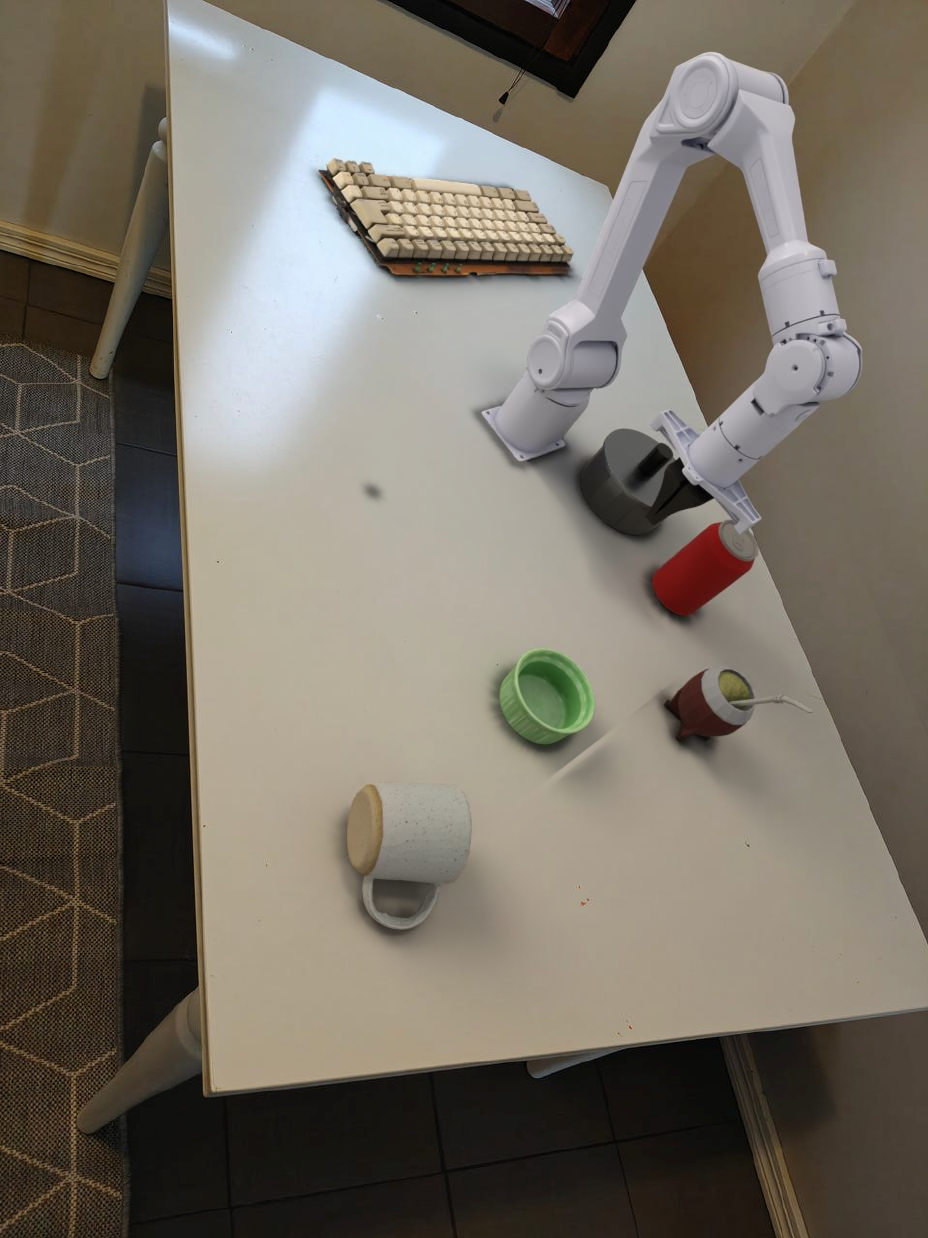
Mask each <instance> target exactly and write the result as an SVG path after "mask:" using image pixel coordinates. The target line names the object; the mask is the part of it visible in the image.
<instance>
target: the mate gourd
mask: <svg viewBox="0 0 928 1238" xmlns="http://www.w3.org/2000/svg"><path fill="white" fill-rule="evenodd" d="M771 703H773V704H784V703H786V704H789V705H792V706H794V707H796V708H797V709H800V710H802V711H803V712H806V713H808V714H813V712H814V710H812V709H811V708H809V707H807V706H806V705H804V704H802V703H800V702H799V701H798V700H795V699H793V698H790V697H788V696H785V695H782V694H774V695H773V696H767V697H761V698H756V694H755V691H754V688H753V686H752V685H751V683H750V682H749V681H748V679H747V677H745V675H743V673H741V672H740V671H738V670H736V669H734V668H732V667H729V666H712V667H709V668H705V669H704V670H702V671H700V672H698V673H697V674H695V675H693V676H692V677H691V678H690V679H689V680H688V681H686V683H685V684H684V685H683V686H682V687H681V688H680V689H678V690H677V691H676V693H675V694H674V695H673V697H672V698H671V700H670V699H667V700H666V701H665V702H664V704H663V706H664V708H666V709H667V710H668V711H669V712H670V713H672V714H673V715H674V716H675V717H676V718H677V719H678V720H680V725H679V728H678V730H677V732H676V735H675V739H676V741H678V742H679V743H682V742H684V740H685V739H686V737H688V736H692V735H694V734H695V735H697V736H699V737H700V738H701V739H702V740H703V741H704V742H707V741H709V740H711V738H713V737H725V736H729V735H731V734H733V733H735V732H737V731H738V730H739V729H741V728H742V727H744V726H745V725H746V724H747V722H749V721H750V720H751V719H752V716H753V714H754V710H755V708H756V705H762V704H771Z"/></svg>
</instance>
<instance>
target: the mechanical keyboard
mask: <svg viewBox="0 0 928 1238" xmlns="http://www.w3.org/2000/svg"><path fill="white" fill-rule="evenodd" d="M325 166H326V169H318V170H317V172H318V173H319V175H320V176H321V178H322V179H323V180H324V182H325V183H326V185H327V187H328V188H329V190H330V191H331V193H332V197H331V199H332V201H333V202H334V204H335V205H336V206H337V207H336V210H337V211H340V213H341V215H342V218H343V221H344V222H347V223H348V225H349V227H350V229H351V230H352V232H357V233H358V234H359V235H360V237H361V238H362V240H363V242H364V243H365V246H367V248H368V250H370V252H371V254H372V255H373V257H374V258H375V261H376V262H377V263H378V264H379V266H384V267H387V268H388V269H389V270H390V272H391V273H392V274H393V275H403V276H404V275H405V276H407V275H408V276H470V273H476V275H477V276H478V277H479V276H482V275H497V274H518V275H531V276H536V275H547V276H549V275H559V276H562V275H569V271H568V269H570V268H571V266H570V264H569V262H571V261H572V259H573V256H574V254H575V252H574V250H573V248H572V247H570V245H566V242H567V241H566V239H565V238H564V237H563V235H561V234H557V230H556V229H555V227H554V225H552V224H551V223H548V222H549V221H548V219H547V217H546V215H545V214H544V213H540V208H539V206H538V203H537V202H535V201H532V197H531V194H530V192H529V191H528V190H525V189H517V188H516V189H514V188H511V187H498V188H496V187H494V186H492V185H491V186H489V185H478V184H475V183H467V182H459V181H451V180H443V179H433V178H421V177H412V178H409V177H407V176H399V175H391V176H389V175H385V174H376V173H375V172H376V171H375V169H374V166H373V164H372V163H371V162H370V161H364V160H362V161H361V162H360V163H359V164H358V162H357V161H356V160H351V159H347V160H345V162H344V160H343V159H341V158H336V157H333V158H332V159H330V160H329V162H328V163H326V164H325Z"/></svg>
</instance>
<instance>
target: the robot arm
mask: <svg viewBox="0 0 928 1238" xmlns="http://www.w3.org/2000/svg"><path fill="white" fill-rule="evenodd" d="M789 104H790V96H789V90H788V86H787V84H786V82H785V81H784V80H783V78H782V77H781V76H779V74H776V73H774V72H770V71H764V70H760V69H758V68H754V67H752V66H749V65H746V64H743V63H741V62H738V61H735V60H732V59H729V58H727V57H726V56H725V55H724V54H722V53H719V52H716V51H708V52H703V53H701V54H698V55H696V56H695V57H692V58H691V59H688V60H687V61H685V62H683V63H680V64H679V65H677V66H676V67H675V68H674V70H673V72H672V75H671V77H670V79H669V82H668V84H667V87H666V90H665V92H664V95H663V97H662V99H661V100H660V101H659V102H658V104H657V105H656V107H654V109H653V110H652V112H651V113H650V114H649V115H648V116H647V118H646V119H645V121H644V122H643V124H642V127H641V128H640V132H639V134H638V136H637V139H636V141H635V144H634V147H633V149H632V151H631V154H630V156H629V159H628V162H627V164H626V166H625V169H624V172H623V174H622V177H621V180H620V182H619V184H618V186H617V189H616V192H615V194H614V198H613V200H612V203H611V204H610V207H609V209H608V212H607V214H606V217H605V220H604V222H603V225H602V227H601V230H600V233H599V235H598V237H597V240H596V242H595V246H594V248H593V250H592V253H591V256H590V258H589V260H588V263H587V265H586V268H585V270H584V273H583V275H582V278H581V281H580V283H579V285H578V288H577V291H576V293H575V296H574V298H573V299H572V300H570V301H568V302H567V303H566V304H564V305H563V306H561V307H559V308H558V309H556V310H555V311H553V312H551V313H550V314H549V315H548V316H547V318H546V320H545V324H544V326H543V328H542V329H541V330H540V331H539V333H538V334H537V335H536V336H535V337H534V338H533V340H532V341H531V343H530V345H529V348H528V351H527V359H526V363H527V364H526V367H525V369H526V372H525V373H524V374H523V376H522V377H521V378H520V380H519V381H518V383H517V384H516V385H515V386H514V388H513V390H512V391H511V393H509V395H508V396H507V398H506V399H505V401H504V402H503V403H502V405H498V406H496V407H491V408H488V409H485V410H482V411H481V415H482V416H483V418H484V419H485V420H486V422H487V423H488V424H489V426H490V427H491V428H492V430H493V431H494V432H495V433H496V434H497V436H498V437H499V439H500V440H501V441H502V442H503V444H504V445H505V446H506V447H507V449H508V450H509V452H510V453H511V454H512V455H513V457H514V458H515V459H516V460H517V461H518V462H525V461H530V460H533V459H536V458H538V457H542V456H544V455H547V454H549V453H552V452H555V451H557V450H561V449H563V448H565V446H566V443H565V441H564V440H563V438H564V436H565V435H566V434H567V433H568V431H569V430H570V429H571V428H572V426H573V425H574V424H575V423H576V422H577V421H578V420H579V418H580V417H581V416H582V415H583V413H584V412H585V411H586V409H587V408H588V406H589V404H590V399H591V393H592V392H593V391H594V390H595V389H596V390H597V389H604V388H606V387H608V386H610V385H612V384H613V383H614V381H615V380H616V379H617V377H618V376H619V373H620V370H621V366H622V365H621V364H622V354H623V349H624V346H625V343H626V341H627V338H628V332H627V330H626V327H625V326H624V323H623V320H622V317H623V314H624V312H625V310H626V307H627V305H628V303H629V300H630V298H631V296H632V294H633V291H634V289H635V286H636V284H637V282H638V281H639V278H640V276H641V273H642V271H643V269H644V267H645V264H646V262H647V260H648V257H649V255H650V253H651V250H652V247H653V245H654V243H655V241H656V239H657V237H658V234H659V232H660V229H661V228H662V225H663V222H664V220H665V219H666V216H667V214H668V211H669V208H670V206H671V204H672V202H673V200H674V197H675V195H676V193H677V190H678V188H679V186H680V184H681V181H682V179H683V177H684V175H685V172H686V170H687V169H688V167H690V166H692V165H694V164H697V163H699V162H701V161H703V160H707V159H708V158H710V157H713V156H715V155H718V156H721V157H722V158H723V159H725V160H727V162H729V163H730V164H732V165H734V166H735V167H736V168H738V169H740V170H741V172H742V174H743V178H744V181H745V184H746V189H747V191H748V195H749V198H750V202H751V205H752V209H753V212H754V215H755V219H756V222H757V225H758V228H759V232H760V235H761V239H762V242H763V245H764V249H765V252H766V255H767V256H766V258H765V260H764V261H763V265H761V267H760V270H759V272H758V274H757V279H758V283H759V288H760V292H761V297H762V298H761V299H762V302H763V306H764V311H765V316H766V319H767V320H766V321H767V324H768V328H769V333H770V337H771V342H772V346H773V348H771V351H770V352H769V353H768V357H767V360H766V363H765V369H764V371H763V373H762V374H761V375H760V377H758V378H757V379H756V380H755V381H754V382H753V383H752V384H751V385H750V386H748V387H747V389H746V390H745V391H743V393H741V395H740V396H738V397H737V398H736V399H735V400H734V402H732V403H731V404H730V405H729V406H728V407H727V409H725V410H724V411H723V412H722V413H721V414H720V415H719V416H718V417H717V418H716V419H715V420H714V421H713V422H712V423H711V424H710V425H709V426H708V427H707V428H706V429H705V430H704V431H703V432H702V433H701V434H699V433H698V432H697V431H696V430H695V429H693V427H691V426H690V425H689V424H688V423H686V422H685V421H684V420H683V419H682V418H680V416H679V415H678V414H677V413H676V412H675V411H674V410H673V409H672V408H667V409H665V410H662V411H660V412H659V413H658V414H657V416H656V417H655V418H653V420H652V421H651V422H650V423H649V426H650V427H651V428H652V430H653V431H654V432H660V434H661V435H662V436H663V437H664V438H665V440H666V442H668V443H669V445H670V446H671V448H673V450H674V451H675V452H676V454H677V455H678V458H676V459H675V461H674V462H672V463H670V464H669V465H668V466H667V468H666V469H665V471H664V477H663V481H662V485H661V488H660V491H659V493H658V495H657V498H656V500H655V501H654V503H653V505H652V507H651V508H650V510H649V511H648V513H647V514H646V515H645V517H646V518H647V519H648V520H649V522H650V523H651V524H652V525H653V526H654V525H656V524H657V523H659V522H660V523H662V522H664V520H665V519H667V518H669V517H670V516H671V515H674V514H677V513H679V512H682V511H686V510H689V509H695V508H698V507H700V506H703V505H705V504H707V503H708V502H710V501H712V500H715V501H716V502H717V503H718V505H719V506H720V507H721V508H722V509H723V511H724V512H725V514H726V515H727V516H728V517H729V518H730V520H733V522H734V523H735V525H734V528H735V530H736V531H737V532H738V533H739V534H742V533H744V532H745V531H747V530H750V529H751V528H752V527H754V526H755V525H756V524H757V523H758V522H760V521H761V520H762V517H761V515H760V514H759V513H758V511H757V510H756V508H755V507H754V506H753V503H752V501H751V499H750V498H749V496H748V494H747V492H746V491H745V488H744V487H743V486H742V485H743V484H742V483H741V481H740V480H739V479H740V478H741V477H743V476H744V475H745V474H746V473H747V472H748V471H749V470H750V469H752V468H753V467H754V466H755V465H756V464H757V463H758V462H759V461H761V460H762V459H763V458H764V457H765V456H766V455H768V454H769V453H770V452H771V451H772V450H773V449H774V448H776V447H777V446H778V445H779V444H780V443H781V442H782V441H783V440H784V439H786V438H787V437H788V436H789V435H790V434H791V433H793V432H794V431H795V430H796V429H797V428H798V427H799V426H800V425H801V424H802V423H803V422H804V421H805V420H806V419H807V418H808V417H810V416H811V415H812V414H813V413H814V412H816V410H817V409H819V407H820V406H821V403H820V402H829V401H830V402H831V401H834V400H837V399H840V398H843V397H844V396H846V395H847V394H849V393H850V392H851V391H852V390H853V389H854V388H855V386H857V384H858V382H859V380H860V377H861V375H862V371H863V348H862V346H861V345H860V343H859V342H858V341H857V340H856V339H855V338H854V337H853V336H851V335H849V334H847V332H846V331H847V330H848V326H847V321H846V319H845V318H841V315H840V314H841V313H840V309H839V306H838V301H837V297H836V292H835V288H834V284H833V279H832V278H833V277H835V276H837V275H838V270H837V267H836V262H835V260H833V259H828V256H827V252H826V251H825V250H824V249H822V248H820V247H819V246H816V245H813V244H811V242H810V241H809V238H808V233H807V227H806V220H805V212H804V207H803V202H802V196H801V195H802V194H801V188H800V181H799V176H798V170H797V164H796V157H795V150H794V145H793V132H794V128H795V122H796V116H795V112H794V111H793V109H792V106H791V105H789ZM488 413H489V414H488ZM522 457H523V458H522ZM660 523H659V524H660Z"/></svg>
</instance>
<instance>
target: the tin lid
mask: <svg viewBox="0 0 928 1238" xmlns="http://www.w3.org/2000/svg"><path fill="white" fill-rule="evenodd" d="M602 446H603V447H602ZM602 446H601V447H602V453H603V459H604V463H605V465H606V468H607V470H608V472H609V474H610V475H611V477H612V478H613V480H614V481H615V483H616V484H617V485H618V486H619V487H620V489H621V490H622V491H623V492H624V493H625V494H626V495H628V496H629V497H630V498H631V499H632V500H634V501H635V502H637V503H638V504H640V505H642V506H643V507H645V508H647V509H650V508H651V507H652V505H653V503H654V501H655V500H656V498H657V495H658V493H659V491H660V488H661V485H662V481H663V477H664V471H665V469H666V468H667V466H668V465H669V464H670V463H672V462H674V461H675V460H676V458H675V457H674V451H673V449H672V447H670V446H669V445H668V444H667V443H664V442H659V441H657V440H656V439H654V438H653V437H651V436H650V435H647V434H646V433H644V432H641V431H639V430H635V429H632V428H618V429H617V428H616V429H615V430H612V431H611V432H610V433H609V434H607V436H606V437H605V438H604V439H603V443H602Z"/></svg>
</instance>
